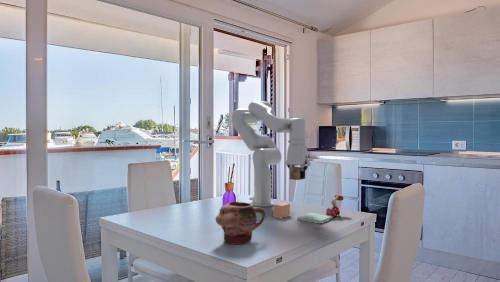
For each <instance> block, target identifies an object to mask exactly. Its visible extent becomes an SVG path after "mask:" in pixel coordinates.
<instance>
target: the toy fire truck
mask: <svg viewBox="0 0 500 282" xmlns="http://www.w3.org/2000/svg"><path fill="white" fill-rule="evenodd" d="M343 200H344V196H343V195H338V194H337V195H336V194H335V195H334V199H332V200H331V201H330V202H331V205H332V207H331V208H330V207H328V208H326V211H325V215H328V216H333V217H334V216H337V215H339V214H340V215H341V211H340V208H339V207H338V205H337V202H336V201H343ZM340 215H339V216H340ZM337 217H338V216H337ZM334 218H335V217H334Z"/></svg>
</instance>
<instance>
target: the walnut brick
mask: <svg viewBox="0 0 500 282" xmlns="http://www.w3.org/2000/svg"><path fill="white" fill-rule="evenodd" d="M300 171H301V167H300V166H295V167H290V170H289V180H293V181H301V180H302V179H300ZM305 179H306V177H305V178H304V179H303V180H305Z"/></svg>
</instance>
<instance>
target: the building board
mask: <svg viewBox="0 0 500 282" xmlns="http://www.w3.org/2000/svg"><path fill="white" fill-rule="evenodd" d="M296 218H297V219H296V220H297V221H300V220H303V221H302V222H305V221H310V222H309V223H311V222H316V223H315V224H317V223H322V222H325V221H327V220H330V219H332V218H333V216H328V215H326V214H320V213H315V212H314V213H313V212H307V213H304V214H301V215H299V216H297V217H296ZM333 219H334V218H333ZM333 219H332V220H333ZM330 221H331V220H330ZM327 222H328V221H327ZM325 223H326V222H325ZM322 224H323V223H322Z"/></svg>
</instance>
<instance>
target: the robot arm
mask: <svg viewBox="0 0 500 282" xmlns="http://www.w3.org/2000/svg"><path fill="white" fill-rule="evenodd" d="M260 121H262V122H263V123H264V125H265V127H266V128H267V129H269V130H271V131H272V132H275V133H279V134H280V133H285V134H289V137H290V138H289V140H288V142H287V143H288V144H289V145H288V148H287V154H286V155H287V156H286V161H285V162H284V165H286V167H287V168H288V169H289V171H290V167H296V166H299V167H301V171H300V179H301V180H305V179H306V171H307V169H308V168H309V167H311V165H312V163H311V162H310V161H309V156H308V148H307V145H306V120H305V118H302V117H298V118H297V117H294V118H284V117H278V116H276V111H275V109H274V108H273V106H272V104H271V103H270V102H269V101H263V100H253V101H251V102H250V103H249V104H248V108H245V107H244V108H240V107H239V108H236V109H234V111H233V112H232V114H231V124H232V126H233V128H234V130H235V131H236V132H237V134H239V136H240V138H241V139H242V141H243V142H244V144H245V146H246V147H247V149H248V150H250V151H251V152H253V153H252V163H253V172H254V173H253V174H254V176H253V177H254V178H253V179H254V181H253V195H250V196H249V197H248V200H249V201H251V203H250V204H252V205H253V207H260V208H266V207H273V205H274V204H275V202H273V201H272V171H271V168H270V166H273V165H278V164H280V162H281V161H282V154H281V150H280V149H279V147H278V146H277V145H276V143H275V142H274V141H273V139H272V138H271V137H270V136H268V135H265V134H258V133H256V131H255V130H254V128H253V127H252V126H250V125H249V124H256V123H259V122H260ZM304 178H305V179H304Z"/></svg>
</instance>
